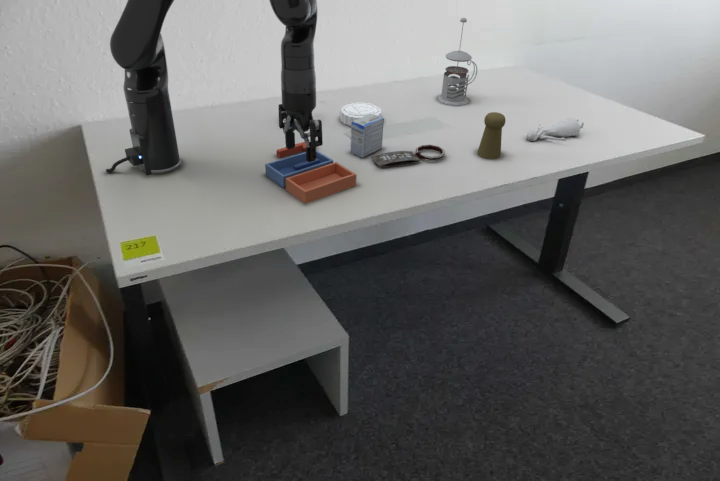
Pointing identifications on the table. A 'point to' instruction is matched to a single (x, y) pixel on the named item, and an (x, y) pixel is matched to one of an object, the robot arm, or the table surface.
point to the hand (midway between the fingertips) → (300, 154)
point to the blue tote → (276, 166)
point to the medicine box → (366, 135)
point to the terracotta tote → (320, 182)
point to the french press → (456, 78)
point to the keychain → (407, 156)
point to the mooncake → (357, 112)
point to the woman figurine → (557, 130)
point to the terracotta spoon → (291, 150)
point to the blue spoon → (299, 166)
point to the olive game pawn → (492, 136)
